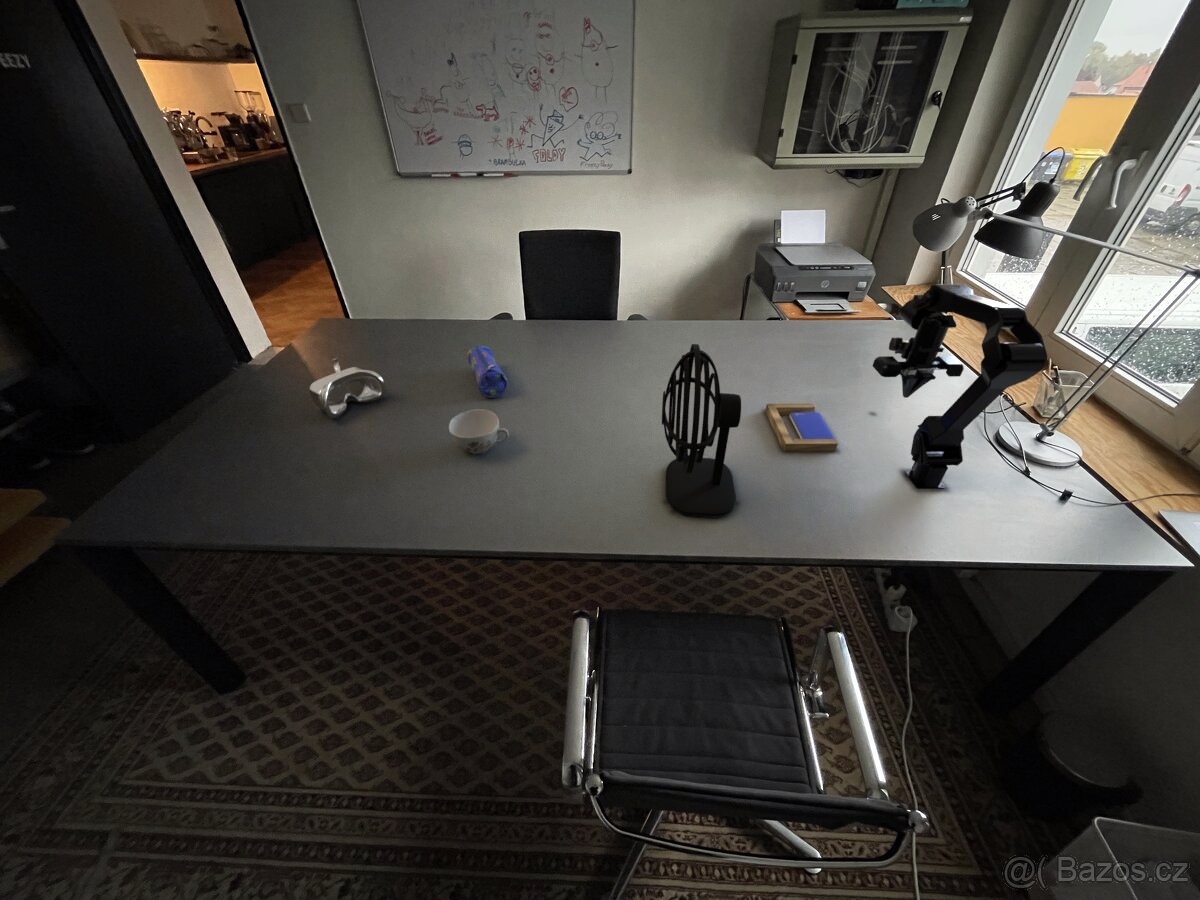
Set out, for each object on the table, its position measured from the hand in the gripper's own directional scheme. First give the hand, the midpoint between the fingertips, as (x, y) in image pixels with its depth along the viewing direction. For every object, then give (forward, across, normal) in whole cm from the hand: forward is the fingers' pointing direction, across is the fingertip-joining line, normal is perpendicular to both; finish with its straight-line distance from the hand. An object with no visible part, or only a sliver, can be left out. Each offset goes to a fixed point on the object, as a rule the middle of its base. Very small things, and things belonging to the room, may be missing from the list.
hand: (905, 396), depth 125 cm
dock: (+12, +22, -3) cm, 25 cm away
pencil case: (+12, +112, -30) cm, 116 cm away
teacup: (+12, +107, +4) cm, 108 cm away
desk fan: (+12, +54, +20) cm, 59 cm away
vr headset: (+12, +150, -17) cm, 151 cm away
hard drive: (+12, +20, -3) cm, 23 cm away
